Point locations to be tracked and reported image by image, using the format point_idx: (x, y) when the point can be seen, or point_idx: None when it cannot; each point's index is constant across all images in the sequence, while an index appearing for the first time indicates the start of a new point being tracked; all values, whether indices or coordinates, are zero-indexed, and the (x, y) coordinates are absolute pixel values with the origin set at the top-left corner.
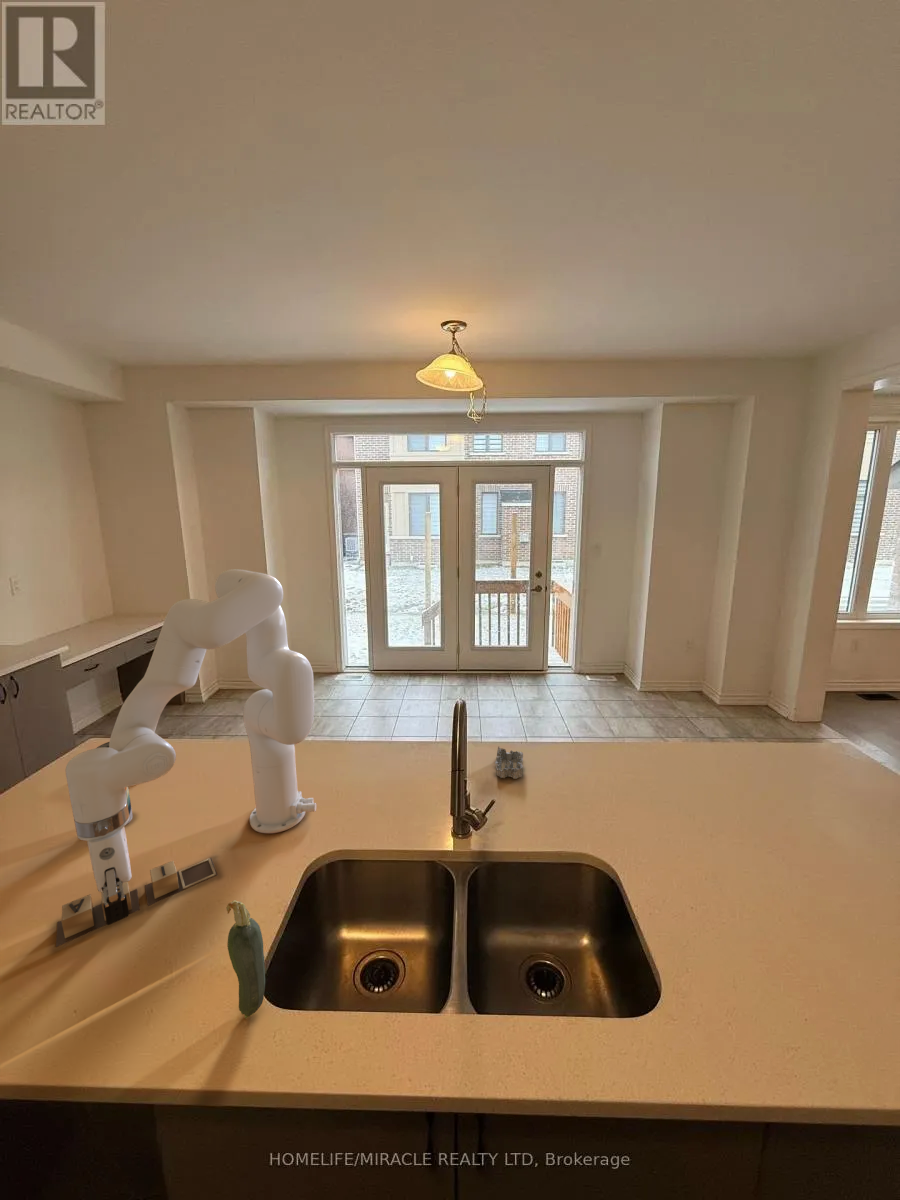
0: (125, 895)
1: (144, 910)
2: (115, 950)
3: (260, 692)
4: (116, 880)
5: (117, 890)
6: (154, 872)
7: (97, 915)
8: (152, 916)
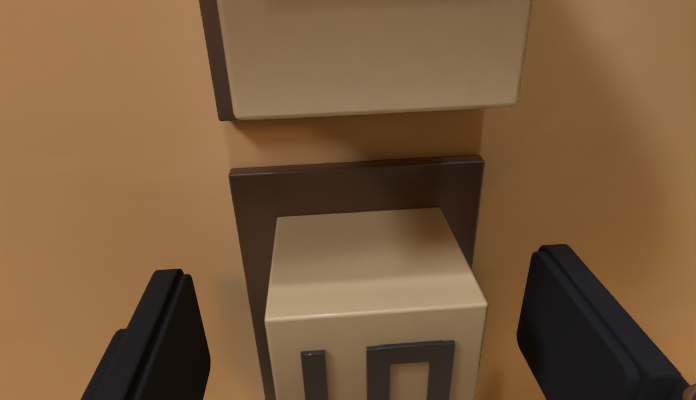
0: (656, 379)
1: (489, 128)
2: (681, 269)
3: None
4: (179, 360)
5: (391, 379)
6: (334, 72)
7: None
8: (597, 81)
